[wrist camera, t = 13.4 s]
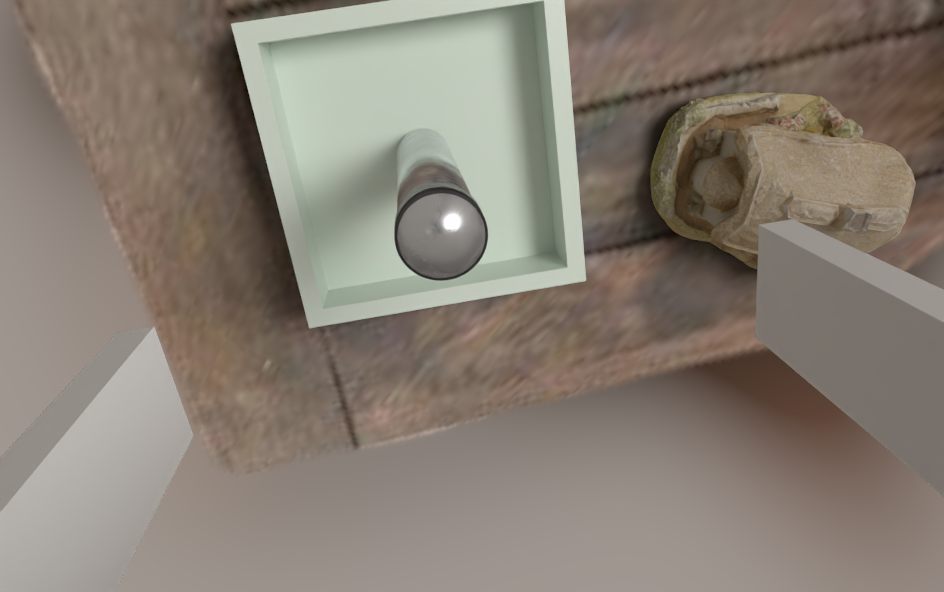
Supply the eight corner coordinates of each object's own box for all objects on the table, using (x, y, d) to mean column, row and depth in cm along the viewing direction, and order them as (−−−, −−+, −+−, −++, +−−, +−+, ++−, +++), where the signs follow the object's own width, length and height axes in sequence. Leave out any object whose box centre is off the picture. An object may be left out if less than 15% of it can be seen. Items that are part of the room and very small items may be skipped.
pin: (390, 130, 36) (386, 198, 22) (447, 122, 37) (481, 183, 22) (400, 187, 38) (403, 287, 23) (455, 178, 38) (493, 272, 23)
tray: (248, 25, 35) (231, 23, 31) (544, -19, 35) (562, -25, 32) (317, 301, 41) (309, 328, 37) (569, 259, 41) (586, 280, 38)
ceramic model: (886, 108, 40) (1032, 129, 31) (821, 278, 44) (934, 342, 35) (673, 67, 38) (763, 77, 29) (624, 250, 42) (690, 310, 33)
